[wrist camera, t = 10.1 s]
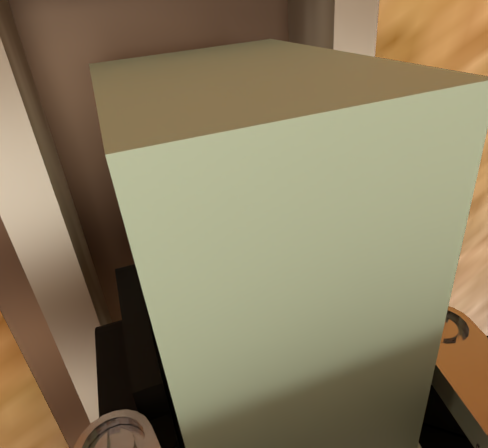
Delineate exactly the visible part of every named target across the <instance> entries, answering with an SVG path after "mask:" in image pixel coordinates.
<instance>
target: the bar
mask: <svg viewBox="0 0 488 448" xmlns="http://www.w3.org/2000/svg"><path fill="white" fill-rule="evenodd" d="M89 68H90V73H91V79H92V85H93V90H94V96H95V101H96V107H97V113H98V118H99V124H100V129H101V135H102V141H103V146H104V152H105V156H106V160H107V164H108V167H109V171H110V175H111V178H112V182H113V186H114V189H115V193H116V197H117V200H118V204H119V207H120V211H121V215H122V218H123V222H124V226H125V229H126V233H127V237H128V240H129V244H130V248H131V251H132V255H133V258H134V262H135V266H136V269H137V273H138V277H139V280H140V284H141V288H142V291H143V295H144V299H145V302H146V306H147V309H148V313H149V317H150V320H151V324H152V328H153V331H154V335H155V339H156V342H157V346H158V350H159V353H160V357H161V360H162V364H163V368H164V371H165V375H166V379H167V382H168V386H169V390H170V393H171V397H172V401H173V404H174V408H175V411H176V415H177V419H178V422H179V426H180V430H181V433H182V437H183V441H184V444H185V448H417V446H418V442H419V437H420V433H421V428H422V424H423V419H424V415H425V410H426V406H427V401H428V396H429V392H430V387H431V383H432V378H433V374H434V369H435V365H436V360H437V356H438V351H439V347H440V342H441V338H442V333H443V328H444V324H445V319H446V315H447V310H448V306H449V301H450V297H451V292H452V288H453V283H454V279H455V274H456V269H457V265H458V260H459V256H460V251H461V247H462V242H463V238H464V233H465V229H466V224H467V220H468V215H469V210H470V206H471V201H472V197H473V192H474V188H475V183H476V179H477V174H478V170H479V165H480V161H481V156H482V152H483V147H484V142H485V138H486V133H487V129H488V76H483V75H477V74H471V73H465V72H460V71H454V70H448V69H442V68H436V67H431V66H425V65H419V64H413V63H408V62H402V61H396V60H390V59H385V58H379V57H373V56H367V55H361V54H356V53H350V52H344V51H338V50H333V49H327V48H321V47H315V46H310V45H304V44H298V43H292V42H286V41H281V40H275V39H266V40H259V41H251V42H244V43H237V44H230V45H222V46H215V47H208V48H200V49H193V50H186V51H178V52H171V53H164V54H157V55H149V56H142V57H135V58H127V59H120V60H113V61H106V62H98V63H91V64H89Z"/></svg>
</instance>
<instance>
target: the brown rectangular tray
mask: <svg viewBox="0 0 488 448" xmlns="http://www.w3.org/2000/svg"><path fill="white" fill-rule="evenodd" d="M378 11H379V0H0V311H1V313H2V315H3V317H4V319H5V320H6V322H7V324H8V326H9V328H10V330H11V332H12V334H13V336H14V338H15V340H16V342H17V344H18V346H19V348H20V350H21V352H22V354H23V356H24V358H25V360H26V362H27V364H28V366H29V368H30V370H31V372H32V374H33V376H34V378H35V380H36V382H37V384H38V386H39V388H40V390H41V392H42V394H43V396H44V398H45V400H46V402H47V404H48V406H49V408H50V410H51V412H52V414H53V416H54V418H55V420H56V422H57V424H58V426H59V428H60V430H61V432H62V434H63V436H64V438H65V440H66V442H67V444H68V446H69V448H74V446H75V443H76V442H77V440H78V439H79V437H80V435H81V434H82V432H83V431H84V430H85V429H86V428H87V427H88V426H89V425H90V424H91V423H92V422H93V421H95V420H96V419H98V418H99V407H98V388H97V368H96V348H95V328H96V327H99V326H102V325H105V324H109V323H112V322H116V321H119V320H122V318H121V311H120V303H119V296H118V289H117V282H116V275H115V269H117V268H121V267H125V266H129V265H133V264H135V262H134V258H133V255H132V251H131V248H130V244H129V240H128V237H127V233H126V229H125V226H124V222H123V218H122V215H121V211H120V207H119V204H118V200H117V197H116V193H115V189H114V186H113V182H112V178H111V175H110V171H109V167H108V164H107V160H106V156H105V152H104V146H103V141H102V135H101V129H100V124H99V118H98V113H97V107H96V101H95V96H94V90H93V85H92V79H91V73H90V68H89V64H91V63H98V62H106V61H113V60H120V59H127V58H135V57H142V56H149V55H157V54H164V53H171V52H178V51H186V50H193V49H200V48H208V47H215V46H222V45H230V44H237V43H244V42H251V41H259V40H266V39H275V40H281V41H286V42H292V43H298V44H304V45H310V46H315V47H321V48H327V49H333V50H338V51H344V52H350V53H356V54H361V55H367V56H373V57H375V48H376V36H377V23H378Z"/></svg>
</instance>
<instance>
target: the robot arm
mask: <svg viewBox="0 0 488 448" xmlns="http://www.w3.org/2000/svg"><path fill="white" fill-rule="evenodd" d="M115 275H116V282H117V289H118V296H119V303H120V311H121V318H122V320H119V321H116V322H112V323H109V324H105V325H102V326H99V327H96V328H95V348H96V368H97V388H98V407H99V418H98V419H96V420H95V421H93V422H92V423H91V424H90V425H89V426H88V427H87V428H86V429H85V430H84V431H83V432H82V434H81V435H80V437H79V439H78V440H77V442H76V443H75V446H74V448H185V444H184V441H183V437H182V433H181V430H180V426H179V422H178V419H177V415H176V411H175V408H174V404H173V401H172V397H171V393H170V390H169V386H168V382H167V379H166V375H165V371H164V368H163V364H162V360H161V357H160V353H159V350H158V346H157V342H156V339H155V335H154V331H153V328H152V324H151V320H150V317H149V313H148V309H147V306H146V302H145V299H144V295H143V291H142V288H141V284H140V280H139V277H138V273H137V269H136V266H135V264H133V265H129V266H125V267H121V268H117V269H115ZM417 448H488V336H486V335H485V334H484V333H483V332H482V331H481V330H480V329H479V328H478V327H477V326H476V325H475V323H474V322H473V321H472V320H471V319H470V318H468V317H467V316H466V315H465V314H464V313H462V312H460V311H458V310H457V309H455V308H452V307H449V306H448V310H447V315H446V319H445V324H444V328H443V333H442V338H441V342H440V347H439V351H438V356H437V360H436V365H435V369H434V374H433V378H432V383H431V387H430V392H429V396H428V401H427V406H426V410H425V415H424V419H423V424H422V428H421V433H420V437H419V442H418V446H417Z"/></svg>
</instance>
